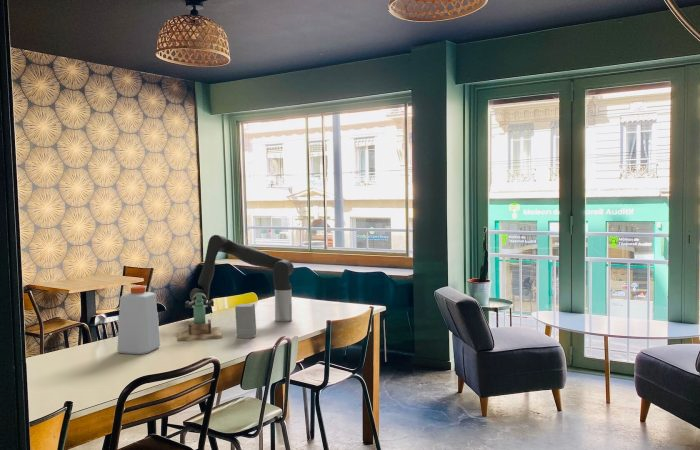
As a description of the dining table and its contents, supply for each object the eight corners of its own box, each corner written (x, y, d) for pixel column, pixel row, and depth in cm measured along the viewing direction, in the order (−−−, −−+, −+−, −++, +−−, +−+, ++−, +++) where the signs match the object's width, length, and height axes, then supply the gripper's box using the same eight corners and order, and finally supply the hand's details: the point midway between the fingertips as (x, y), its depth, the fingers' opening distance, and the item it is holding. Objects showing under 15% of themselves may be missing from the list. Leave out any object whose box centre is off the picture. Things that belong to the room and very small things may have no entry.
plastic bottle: (144, 355, 232) (143, 290, 231) (113, 353, 235) (111, 289, 234) (163, 346, 247) (162, 285, 246) (133, 344, 250) (132, 284, 249)
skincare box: (256, 335, 267) (256, 303, 267) (252, 338, 260) (252, 306, 260) (239, 334, 268) (239, 303, 268) (235, 338, 261) (234, 305, 260)
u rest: (220, 329, 279) (220, 317, 279) (221, 338, 262) (221, 324, 262) (179, 332, 274) (179, 319, 274) (178, 340, 257) (177, 327, 256)
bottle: (206, 330, 271) (205, 292, 270) (204, 333, 266) (203, 294, 265) (195, 330, 271) (194, 292, 270) (193, 333, 265) (192, 294, 264)
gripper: (185, 294, 291) (185, 299, 275) (213, 293, 295) (214, 298, 279) (185, 308, 291) (185, 314, 275) (213, 306, 295) (214, 312, 279)
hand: (199, 306), depth 277 cm, fingers open, 8 cm apart
